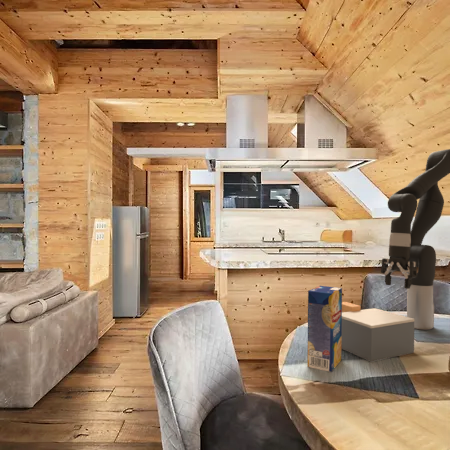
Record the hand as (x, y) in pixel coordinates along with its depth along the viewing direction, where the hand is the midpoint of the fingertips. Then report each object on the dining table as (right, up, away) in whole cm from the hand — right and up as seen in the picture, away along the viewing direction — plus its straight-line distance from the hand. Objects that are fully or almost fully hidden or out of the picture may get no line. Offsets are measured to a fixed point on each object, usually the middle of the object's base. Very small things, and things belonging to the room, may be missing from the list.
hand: (397, 286), depth 140 cm
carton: (-18, -17, -20) cm, 32 cm away
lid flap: (-19, -7, -17) cm, 27 cm away
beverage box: (-37, -17, -33) cm, 53 cm away
